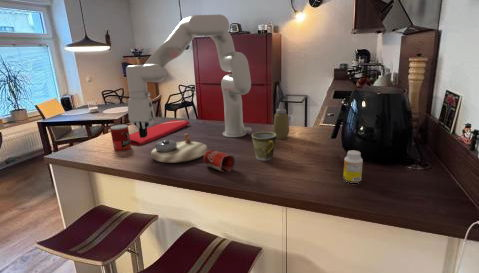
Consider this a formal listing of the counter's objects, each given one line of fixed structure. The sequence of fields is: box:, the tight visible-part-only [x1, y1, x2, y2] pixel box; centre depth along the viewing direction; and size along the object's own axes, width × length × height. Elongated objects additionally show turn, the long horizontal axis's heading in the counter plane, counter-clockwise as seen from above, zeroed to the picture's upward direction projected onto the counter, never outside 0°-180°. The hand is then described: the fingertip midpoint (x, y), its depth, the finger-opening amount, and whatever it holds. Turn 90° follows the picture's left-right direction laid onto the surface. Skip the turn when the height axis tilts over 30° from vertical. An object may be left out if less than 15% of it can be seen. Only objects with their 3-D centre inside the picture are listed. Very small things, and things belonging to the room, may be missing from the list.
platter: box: [150, 133, 208, 164], centre depth 125 cm, size 24×24×5 cm
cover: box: [155, 139, 177, 153], centre depth 126 cm, size 9×9×4 cm
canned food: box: [110, 124, 132, 152], centre depth 137 cm, size 8×8×11 cm
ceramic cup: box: [251, 131, 277, 162], centre depth 116 cm, size 13×10×10 cm
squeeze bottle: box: [272, 101, 290, 140], centre depth 142 cm, size 8×8×18 cm
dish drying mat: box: [129, 119, 190, 146], centre depth 162 cm, size 16×41×4 cm, turn 153°
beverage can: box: [202, 149, 236, 174], centre depth 109 cm, size 7×12×7 cm, turn 46°
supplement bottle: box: [342, 149, 364, 184], centre depth 94 cm, size 6×6×10 cm
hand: (143, 136), depth 126 cm, fingers closed
